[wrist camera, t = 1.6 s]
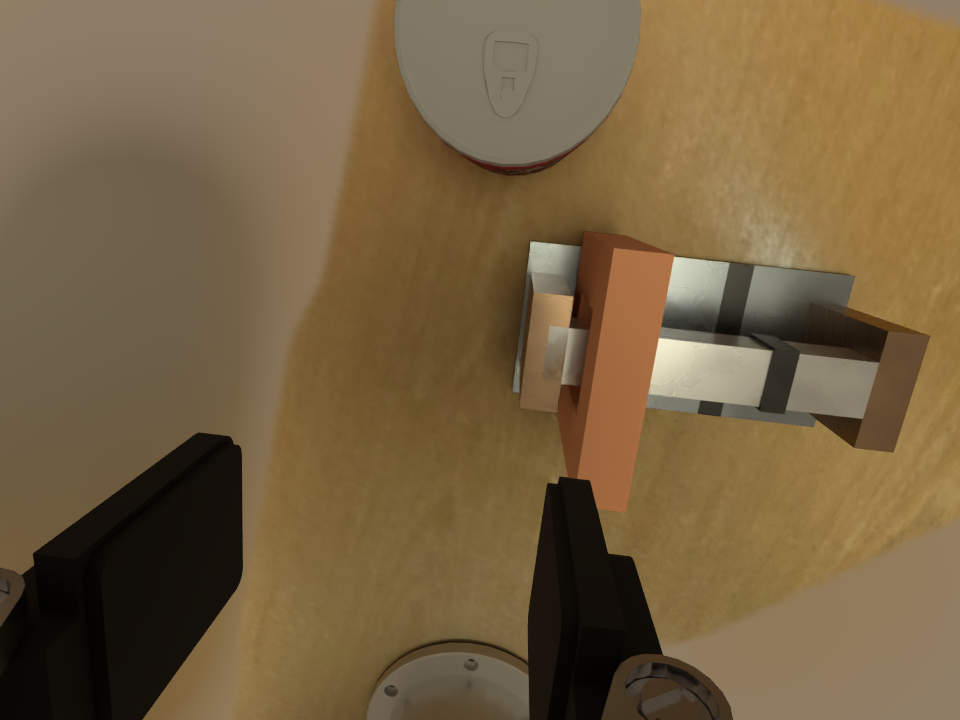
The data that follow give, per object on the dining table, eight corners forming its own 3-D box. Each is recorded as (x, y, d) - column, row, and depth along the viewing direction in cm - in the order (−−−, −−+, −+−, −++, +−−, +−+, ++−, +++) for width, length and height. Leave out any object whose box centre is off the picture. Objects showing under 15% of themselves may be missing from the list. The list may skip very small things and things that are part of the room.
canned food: (455, 189, 30) (419, 186, 19) (423, 15, 28) (364, -93, 17) (607, 161, 29) (657, 141, 19) (586, -21, 27) (628, -158, 17)
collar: (557, 415, 32) (572, 506, 22) (584, 231, 29) (613, 248, 20) (595, 419, 31) (625, 512, 22) (625, 235, 29) (674, 254, 20)
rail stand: (512, 388, 33) (510, 441, 26) (530, 240, 30) (533, 254, 23) (808, 422, 32) (890, 487, 25) (848, 274, 30) (950, 299, 23)
